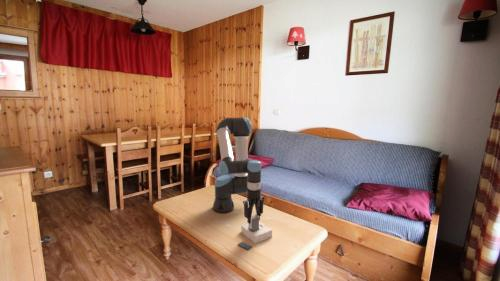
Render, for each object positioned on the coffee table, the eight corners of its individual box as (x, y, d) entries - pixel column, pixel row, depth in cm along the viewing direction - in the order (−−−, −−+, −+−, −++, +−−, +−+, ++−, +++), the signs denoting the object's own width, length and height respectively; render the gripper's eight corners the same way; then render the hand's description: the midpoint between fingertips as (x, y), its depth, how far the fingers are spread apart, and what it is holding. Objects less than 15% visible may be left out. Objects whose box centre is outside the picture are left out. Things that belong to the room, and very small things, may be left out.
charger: (249, 233, 141) (249, 216, 139) (254, 231, 143) (254, 214, 142) (253, 236, 138) (253, 219, 136) (258, 234, 140) (258, 217, 138)
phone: (237, 246, 132) (237, 244, 131) (242, 243, 134) (242, 241, 134) (247, 251, 127) (247, 249, 127) (252, 248, 130) (252, 246, 130)
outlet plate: (241, 231, 145) (241, 225, 144) (257, 225, 151) (257, 219, 150) (255, 243, 133) (255, 236, 132) (271, 236, 140) (272, 229, 139)
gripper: (244, 193, 128) (244, 234, 132) (270, 187, 138) (269, 225, 142) (237, 189, 134) (237, 228, 138) (262, 183, 144) (261, 219, 148)
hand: (253, 226), depth 140 cm, fingers closed on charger, 4 cm apart
